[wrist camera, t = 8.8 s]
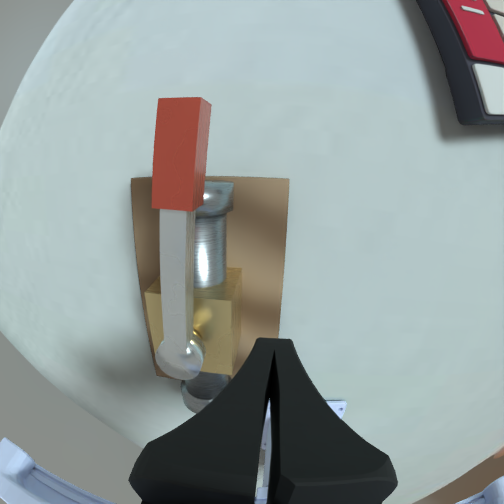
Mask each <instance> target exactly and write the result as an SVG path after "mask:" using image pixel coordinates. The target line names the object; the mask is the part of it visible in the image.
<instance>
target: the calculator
mask: <svg viewBox="0 0 504 504" xmlns="http://www.w3.org/2000/svg"><path fill="white" fill-rule="evenodd" d="M416 1H417V3H418V5H419V7H420V9H421V11H422V13H423V15H424V17H425V19H426V21H427V23H428V25H429V27H430V30H431V32H432V34H433V36H434V39H435V41H436V43H437V46H438V48H439V51H440V53H441V56H442V58H443V61H444V64H445V67H446V76H447V79H448V82H449V86H450V89H451V93H452V97H453V101H454V105H455V109H456V113H457V117H458V121H459V123H460V124H462V125H478V124H504V0H416Z"/></svg>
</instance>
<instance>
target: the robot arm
mask: <svg viewBox="0 0 504 504" xmlns="http://www.w3.org/2000/svg"><path fill="white" fill-rule="evenodd" d="M269 398H270V400H269ZM346 406H347V404H346V402H345V401H325V400H324V399H323V397H322V396H321V395H320V393H319V392H318V390H317V389H316V387H315V386H314V384H313V383H312V381H311V379H310V378H309V376H308V374H307V373H306V371H305V369H304V367H303V365H302V363H301V361H300V359H299V357H298V355H297V352H296V350H295V347H294V344H293V341H292V340H291V339H279V338H263V337H259V338H257V339H256V341H255V344H254V346H253V348H252V350H251V352H250V354H249V355H248V357H247V359H246V360H245V362H244V363H243V365H242V366H241V368H240V369H239V371H238V372H237V373H236V375H235V376H234V377H233V379H232V380H231V381H230V382H229V384H228V385H227V386H226V387H225V388H224V389H223V390H222V391H221V392H220V393H219V394H218V395H217V396H216V397H215V398H214V399H213V400H212V401H211V402H210V403H209V404H208V405H207V406H205V407H204V408H203V409H202V410H201V411H200V412H198V413H197V414H196V415H194V416H193V417H192V418H190V419H189V420H187V421H186V422H184V423H183V424H181V425H180V426H178V427H177V428H175V429H174V430H172V431H170V432H168V433H166V434H164V435H162V436H161V437H159V438H157V439H155V440H153V441H151V442H149V443H148V444H147V445H146V446H145V448H144V449H143V451H142V452H141V454H140V456H139V457H138V459H137V461H136V462H135V464H134V467H133V469H132V472H131V474H130V477H129V482H130V484H131V486H132V488H133V489H134V490H135V491H136V493H137V494H138V495H139V496H140V497H141V499H142V502H141V504H382V502H383V501H384V500H385V499H386V498H387V497H388V496H389V495H390V494H391V493H392V492H393V491H394V490H395V488H396V487H397V484H398V481H397V477H396V473H395V470H394V467H393V465H392V463H391V460H390V458H389V456H388V455H387V454H385V453H384V452H382V451H380V450H379V449H377V448H376V447H374V446H373V445H371V444H370V443H368V442H367V441H366V440H364V439H363V438H362V437H360V436H359V435H358V434H357V433H356V432H355V431H353V430H352V429H351V428H350V427H349V426H348V425H347V424H346V423H345V422H344V421H343V420H342V416H343V414H344V411H345V408H346ZM262 434H263V437H262ZM261 439H262V446H261V448H262V449H263V450H266V452H265V464H264V475H263V486H262V487H260V488H257V496H256V497H255V492H256V482H257V473H258V463H259V453H260V444H261ZM0 498H1V499H3V500H4V501H5V502H6V503H7V504H116V503H113V502H110V501H108V500H106V499H103V498H101V497H99V496H96V495H94V494H92V493H90V492H87V491H85V490H83V489H81V488H79V487H77V486H75V485H73V484H71V483H69V482H67V481H65V480H63V479H61V478H60V477H58V476H56V475H54V474H53V473H51V472H49V471H47V470H46V469H44V468H42V467H41V466H39V465H38V464H36V463H35V461H34V460H33V459H32V458H31V457H30V456H29V455H28V454H27V453H26V452H25V451H24V450H22V449H21V448H20V447H18V446H17V445H15V444H14V443H13V442H11V441H10V440H8V439H7V438H3V439H2V441H1V442H0ZM455 504H504V476H502V477H500V478H498V479H497V480H495V481H494V482H492V483H491V484H490V485H489V486H487V487H486V488H485V489H484V490H483V491H482V492H480V493H478V494H476V495H474V496H471V497H469V498H467V499H465V500H462V501H460V502H457V503H455Z"/></svg>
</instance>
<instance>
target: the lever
mask: <svg viewBox="0 0 504 504" xmlns="http://www.w3.org/2000/svg"><path fill="white" fill-rule="evenodd" d="M211 106H212V105H211V104H210V103H208V102H207V101H206V100H204V99H203V98H201V97H186V98H159V99H158V108H157V117H156V128H155V141H154V156H153V175H152V208H156V209H160V279H161V301H162V317H163V331H164V339H163V341H162V342H161V344H160V346H159V347H158V349H157V351H156V353H155V359H156V362H157V364H158V366H159V367H160V369H161V370H162V371H163V372H165V373H166V374H167V375H169V376H171V377H173V378H176V379H181V380H189V379H192V378H195V377H196V376H197V375H198V374H199V372H200V370H201V367H202V364H203V361H204V358H205V356H206V347H205V345H204V343H203V342H202V340H201V339H200V338H199V337H198V336H196V335H195V334H194V329H193V283H194V239H195V215H196V209H197V208H198V207H200V206H201V205H203V203H204V187H205V173H206V160H207V148H208V136H209V125H210V115H211Z"/></svg>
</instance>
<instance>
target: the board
mask: <svg viewBox="0 0 504 504" xmlns="http://www.w3.org/2000/svg"><path fill="white" fill-rule="evenodd" d="M205 180H225V181H231V182H234V198H233V210H232V211H231V212H228V213H227V267H235V268H242V305H241V337H240V341H239V346H238V351H237V355H236V360H235V364H234V369H233V373H232V375H229V376H230V377H231V378H232V379H233V377H234V376H235V375H236V373H237V372H238V371H239V369H240V368H241V366H242V365H243V363H244V362H245V360H246V359H247V357H248V355H249V354H250V352H251V350H252V348H253V346H254V344H255V341H256V339H257V338H259V337H263V338H278V334H279V324H280V312H281V300H282V288H283V275H284V262H285V247H286V232H287V216H288V197H289V179H285V178H264V177H233V176H205ZM131 192H132V211H133V225H134V237H135V248H136V257H137V266H138V274H139V282H140V289H141V296H142V303H143V309H144V315H145V321H146V326H147V332H148V337H149V342H150V347H151V352H152V357H153V361H154V366H155V370H156V375H157V376H161V377H167V378H172V379H176V378H173V377H171V376H169V375H167V374H166V373H165V372H163V371H162V370H161V369H160V367H159V366H158V364H157V362H156V359H155V351H154V346H153V341H152V336H151V330H150V325H149V319H148V313H147V306H146V300H145V293H144V292H145V291H146V290H147V289H148V288H149V287H150V286H151V285H152V284H153V283H154V281H155V280H156V279H157V278H158V277H159V276H160V209H156V208H152V177H136V178H131ZM178 380H181V379H178Z"/></svg>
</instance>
